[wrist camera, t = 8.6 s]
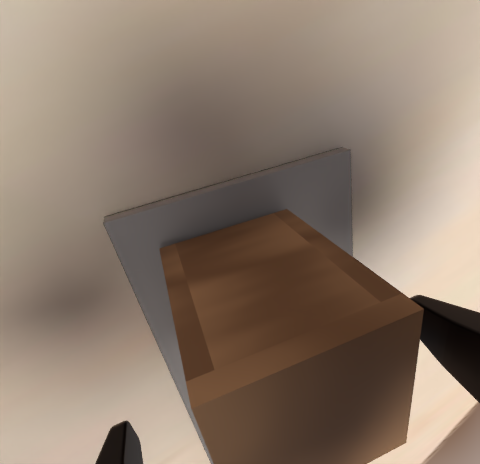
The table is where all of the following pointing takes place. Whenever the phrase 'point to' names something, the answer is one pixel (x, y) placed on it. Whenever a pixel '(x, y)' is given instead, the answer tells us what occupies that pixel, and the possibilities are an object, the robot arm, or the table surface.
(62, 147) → the table surface
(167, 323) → the slate board
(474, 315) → the robot arm
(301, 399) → the walnut sleeve
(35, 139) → the table surface
